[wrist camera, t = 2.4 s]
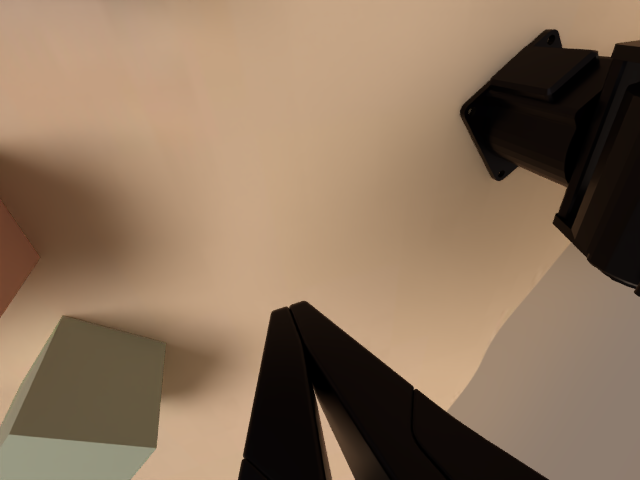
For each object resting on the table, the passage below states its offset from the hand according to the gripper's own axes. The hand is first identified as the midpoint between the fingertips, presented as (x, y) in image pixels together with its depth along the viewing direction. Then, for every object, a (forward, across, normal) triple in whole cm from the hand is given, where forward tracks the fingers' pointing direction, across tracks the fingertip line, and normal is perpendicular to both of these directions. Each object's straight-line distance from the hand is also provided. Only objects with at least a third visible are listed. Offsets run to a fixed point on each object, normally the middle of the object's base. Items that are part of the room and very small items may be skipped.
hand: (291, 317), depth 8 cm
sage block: (+12, +12, +11) cm, 20 cm away
